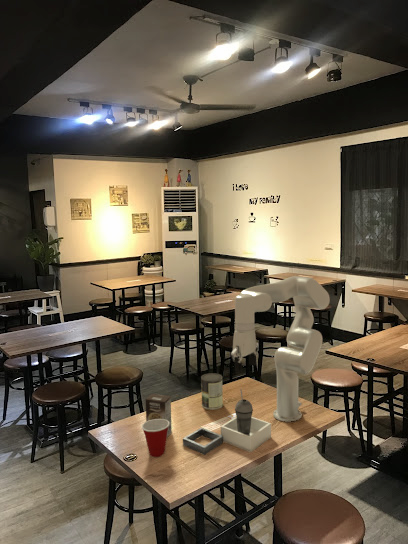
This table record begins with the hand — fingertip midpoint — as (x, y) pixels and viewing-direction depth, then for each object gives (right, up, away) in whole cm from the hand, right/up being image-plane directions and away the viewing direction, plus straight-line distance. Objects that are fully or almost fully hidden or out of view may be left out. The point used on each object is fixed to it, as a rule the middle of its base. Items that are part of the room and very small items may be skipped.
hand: (245, 368), depth 174 cm
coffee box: (-35, -30, +10) cm, 47 cm away
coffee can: (-13, -26, +36) cm, 46 cm away
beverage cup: (0, -29, +3) cm, 29 cm away
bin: (+1, -30, +4) cm, 30 cm away
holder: (-17, -31, 0) cm, 35 cm away
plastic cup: (-35, -32, -5) cm, 47 cm away
